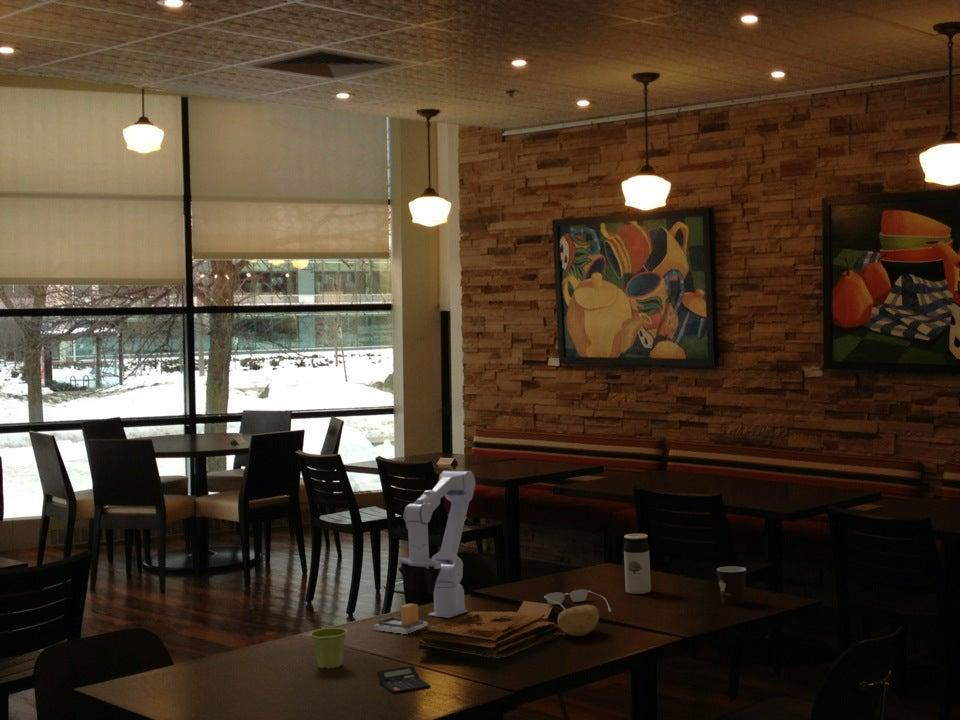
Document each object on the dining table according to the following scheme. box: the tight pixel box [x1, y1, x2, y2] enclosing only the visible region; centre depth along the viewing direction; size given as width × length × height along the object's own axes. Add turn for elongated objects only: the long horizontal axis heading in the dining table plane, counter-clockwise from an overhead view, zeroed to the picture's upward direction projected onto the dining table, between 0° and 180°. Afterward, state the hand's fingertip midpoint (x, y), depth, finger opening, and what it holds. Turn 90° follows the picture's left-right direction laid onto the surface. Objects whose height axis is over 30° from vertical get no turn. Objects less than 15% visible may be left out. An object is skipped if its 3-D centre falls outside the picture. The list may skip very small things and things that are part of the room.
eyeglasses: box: [543, 589, 612, 613], centre depth 355 cm, size 15×18×4 cm
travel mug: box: [623, 533, 652, 595], centre depth 375 cm, size 8×8×18 cm
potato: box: [557, 604, 600, 637], centre depth 323 cm, size 10×14×8 cm
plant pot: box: [309, 627, 348, 670], centre depth 302 cm, size 9×9×9 cm
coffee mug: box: [715, 566, 747, 606], centre depth 356 cm, size 12×9×10 cm
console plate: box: [373, 616, 429, 635], centre depth 339 cm, size 10×12×2 cm
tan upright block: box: [400, 603, 420, 626], centre depth 337 cm, size 4×3×6 cm
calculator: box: [376, 665, 431, 695], centre depth 283 cm, size 9×12×3 cm
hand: (420, 591), depth 342 cm, fingers open, 7 cm apart
